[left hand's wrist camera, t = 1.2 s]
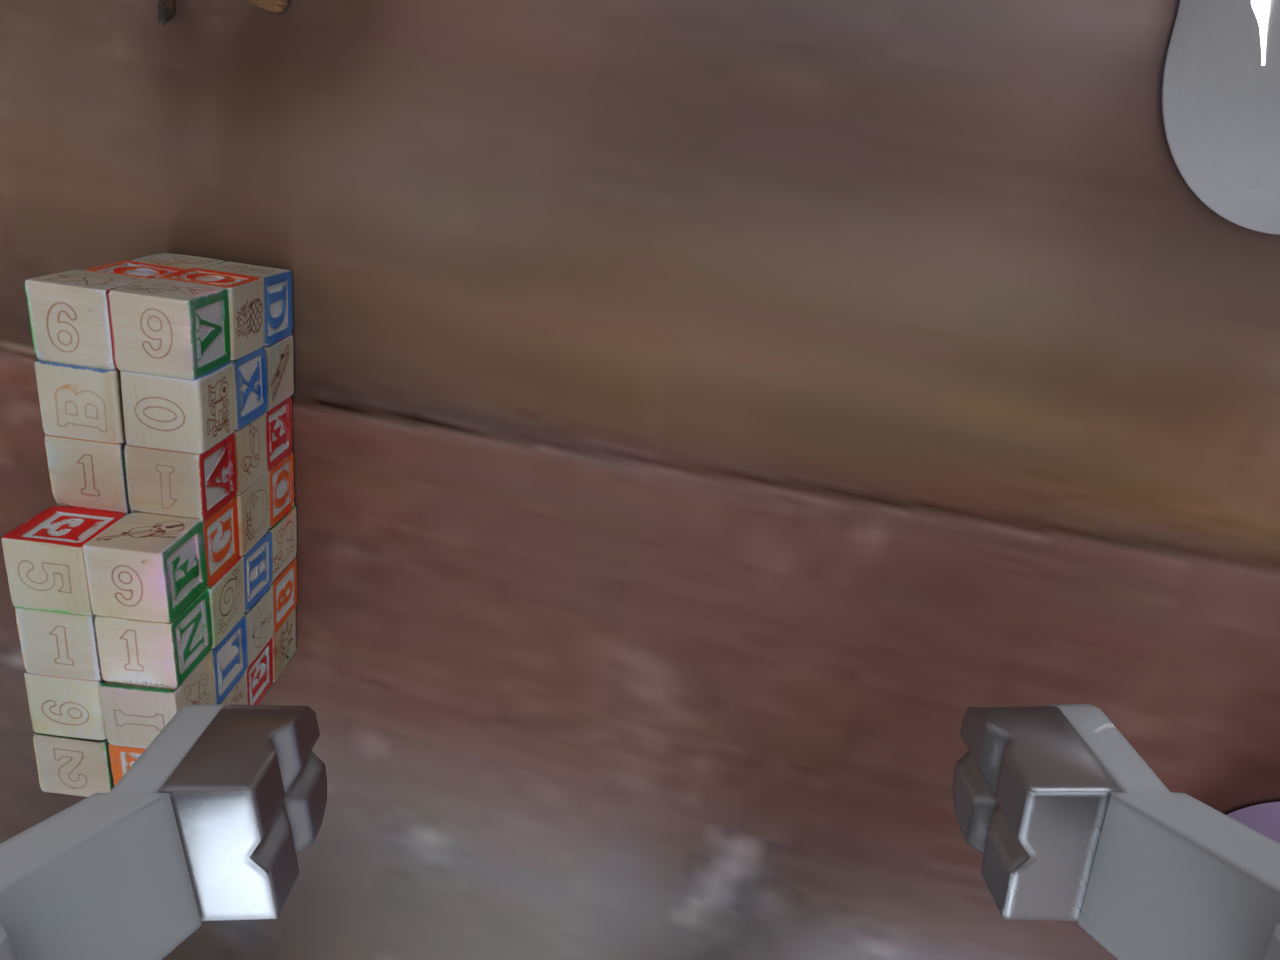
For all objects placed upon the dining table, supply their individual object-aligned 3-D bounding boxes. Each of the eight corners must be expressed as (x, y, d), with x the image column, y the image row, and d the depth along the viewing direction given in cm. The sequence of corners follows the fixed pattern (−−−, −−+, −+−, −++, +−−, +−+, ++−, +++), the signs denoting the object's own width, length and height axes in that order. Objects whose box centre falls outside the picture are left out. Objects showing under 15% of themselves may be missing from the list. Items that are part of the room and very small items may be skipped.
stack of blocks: (160, 248, 39) (-43, 287, 28) (295, 267, 40) (149, 313, 28) (186, 640, 47) (35, 797, 36) (299, 654, 47) (185, 815, 36)
